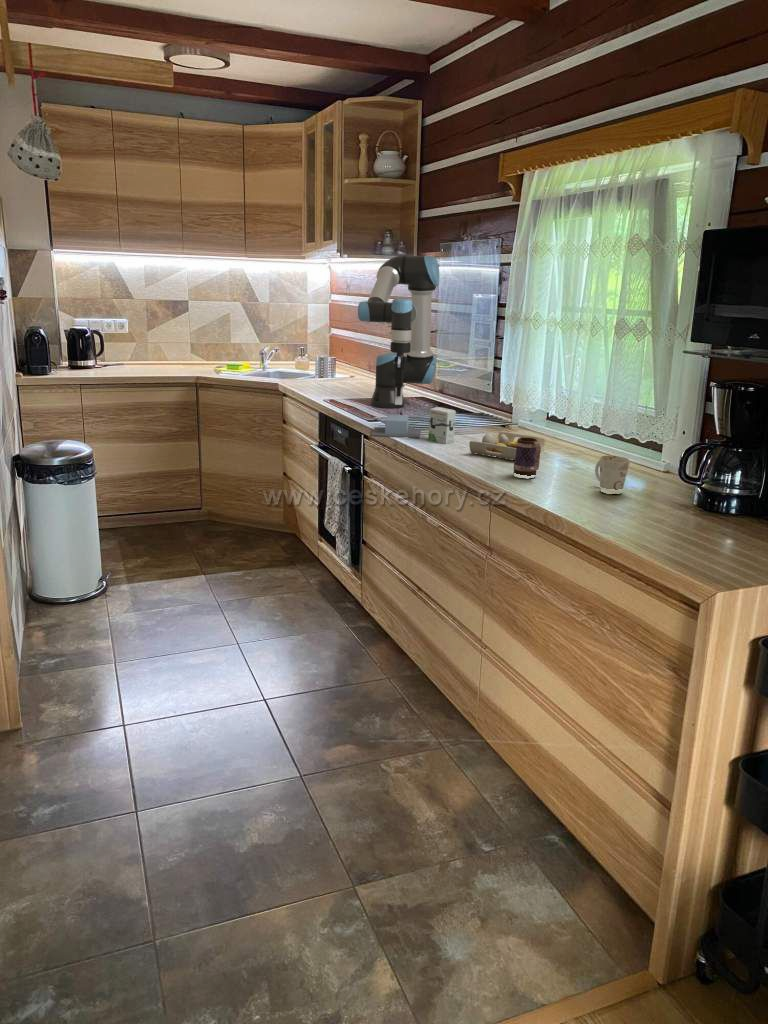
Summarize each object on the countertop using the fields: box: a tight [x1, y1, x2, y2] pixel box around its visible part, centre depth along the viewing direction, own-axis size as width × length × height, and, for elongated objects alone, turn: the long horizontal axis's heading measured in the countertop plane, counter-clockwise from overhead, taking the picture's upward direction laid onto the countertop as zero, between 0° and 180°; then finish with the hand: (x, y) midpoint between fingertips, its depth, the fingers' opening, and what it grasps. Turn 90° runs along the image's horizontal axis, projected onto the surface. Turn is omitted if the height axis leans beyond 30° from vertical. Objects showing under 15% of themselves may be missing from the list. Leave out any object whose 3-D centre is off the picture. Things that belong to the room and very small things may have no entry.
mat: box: [370, 426, 422, 439], centre depth 298 cm, size 14×18×1 cm
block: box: [384, 414, 410, 435], centre depth 299 cm, size 5×8×12 cm
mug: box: [594, 455, 631, 490], centre depth 229 cm, size 8×13×10 cm, turn 24°
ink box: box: [427, 406, 457, 445], centre depth 285 cm, size 9×5×12 cm, turn 47°
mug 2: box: [513, 437, 542, 476], centre depth 240 cm, size 10×7×12 cm
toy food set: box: [468, 430, 547, 461], centre depth 273 cm, size 25×18×8 cm
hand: (398, 404), depth 301 cm, fingers closed
